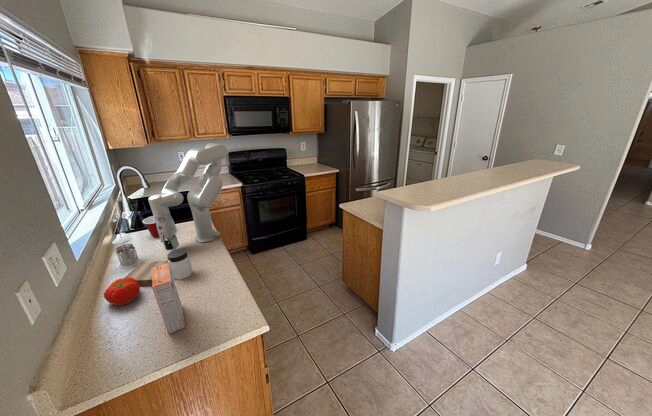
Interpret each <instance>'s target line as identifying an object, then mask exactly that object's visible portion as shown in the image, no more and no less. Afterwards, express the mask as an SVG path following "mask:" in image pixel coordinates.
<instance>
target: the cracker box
mask: <svg viewBox="0 0 652 416" xmlns="http://www.w3.org/2000/svg"><path fill="white" fill-rule="evenodd" d="M151 286H152V287H151V288H152V290H153V293H154V297H155V300H156V302H157V305H158V308H159V311H160V314H161V317H162V320H163V322H164V325H165V326H164V327H165V329H166V331H167V334H168V335H171V334H173V333H177V332H178V331H180V330H183V329H185V328H186V322H185V315H184V310H183V305H182V302H181V299H180V298H181V297H180V296H179V293H178V289H177V286H176V282H175V279H174V278H173V275H172V272H171V269H170V266H169V263H167V264H163V265H160V266H156V267H153V268H152V285H151Z"/></svg>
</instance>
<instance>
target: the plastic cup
mask: <svg viewBox="0 0 652 416" xmlns="http://www.w3.org/2000/svg"><path fill="white" fill-rule="evenodd" d="M142 223H143V224H144V225H145V227H146V228H147V230H148V232H149V233H150V235H151V237H152V238H153V237H154V239H157V237H158V238H160V236H159V234H158V230H157V225H156V222H155V219H154V216H153V215H151V216H148V217H146V218H144V219H142Z"/></svg>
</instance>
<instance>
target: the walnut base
mask: <svg viewBox="0 0 652 416" xmlns="http://www.w3.org/2000/svg"><path fill="white" fill-rule="evenodd" d="M168 261H169V260H168V259H167V260H156V261H154V260H153V261H141V262H140V263H138V264H137V265H135V267H134V268H133V269H132V270H131V271H129V272H128V273H127V274H126V275H125V276H124V277H123V278H124V279H125V278H126V277H131V278H134V279H135V280H137V281H138V283H139V287H144V286H152V268H153V267H156V266H160V265H163V264H167V263H168Z"/></svg>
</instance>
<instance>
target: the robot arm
mask: <svg viewBox="0 0 652 416" xmlns="http://www.w3.org/2000/svg"><path fill="white" fill-rule="evenodd" d="M228 155H229V149H228V147H227V145H224V144H222V143H216V142H215V143H213V142H208V143H207V144H206V145H205V147H204V148H194V147H193V148H191V149H189V150H188V151H187V152H186V155H185V156H184V157H183V160H182V162H181V163H180V165H179V167H178V169H177V170H176V171H175V172H174V173H173V174H172V175H171V177H169V179H168V180H167V181H166V183H165V184H164V186H163V188H162V190H161V192H160V193H158V194H153V195H149V197H148V199H147V200H148V203H149V204H148V205H149V206H150V210H151V212H152V216H154V219H155V222H156V225H157V230H158V234H159V236H160V237H159V238H160V243H162V244H163V245H164V244H165V246H166V249H167V251H171V250H170V249H173V247H172V244H171V243H170V238H171V237H172V236H176V237H177V235H176V233H177V232H178V229H177V225H176V224H175V221H174V219H173V216H172V215H171V212H170V209H169V208H170V207H175V206H176V207H177V206H179V205H181V204H182V203H183V201H184V195H183V194H182V193H181V192H179V189H180V188H181V186H182V185H183V184H185V183H187V182H190V181H191V180H194V177H195V175H196V173H197V172H198V169H199V167H200V166H205V167H204V168H203V170H202V173H201V175H200V176H199V178H198V185H199V187H200V188H202V189H200V188H192V189H191V190H189V191H188V193H187V194H186V195H187V197H186V199H187V202H188V205H189V208H190V210H191V214H192V215H191V216H192V218H193V223H194V227H195V231H196V232H195V233H196V235H197V236H195V238H194V241H195V242H196V243H201V244H202V243H203V244H204V243H209V242H212V241H214V240H216V239H217V238H218V236H219V237H221V235H222V233H221V231H217V230H216V229H215V228H214V225H213V222H212V216H211V211H210V207H212V206H213V204H214V203H215V201H216V200H217V198H218V196H219V194H220V192H221V190H222V189H223V178H221V176H220V174H221V172H222V169H223V161H222V160H224V159H225V158H227V157H228ZM165 239H167V240H168V241H166V240H165ZM165 246H164V247H165ZM166 249H165V250H166Z"/></svg>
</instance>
